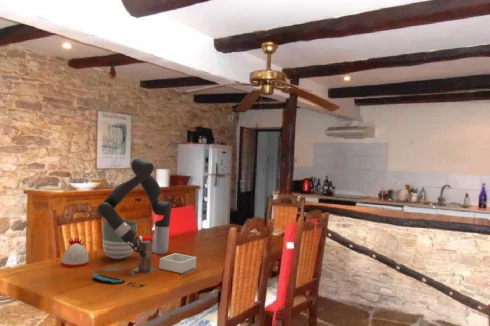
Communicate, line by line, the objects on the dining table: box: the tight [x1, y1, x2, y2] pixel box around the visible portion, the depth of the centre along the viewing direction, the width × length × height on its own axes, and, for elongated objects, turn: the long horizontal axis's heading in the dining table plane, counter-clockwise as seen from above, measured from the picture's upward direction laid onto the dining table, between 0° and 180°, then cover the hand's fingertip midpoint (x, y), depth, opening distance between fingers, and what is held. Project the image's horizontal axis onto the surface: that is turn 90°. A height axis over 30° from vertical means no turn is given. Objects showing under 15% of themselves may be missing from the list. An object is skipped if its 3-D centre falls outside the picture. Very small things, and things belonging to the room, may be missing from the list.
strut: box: [138, 241, 153, 271], centre depth 218 cm, size 4×4×15 cm
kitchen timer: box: [61, 236, 90, 268], centre depth 225 cm, size 14×14×15 cm
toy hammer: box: [137, 234, 154, 243], centre depth 275 cm, size 23×12×6 cm, turn 28°
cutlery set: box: [92, 267, 146, 289], centre depth 204 cm, size 20×30×2 cm, turn 69°
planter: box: [102, 219, 138, 260], centre depth 242 cm, size 20×20×21 cm
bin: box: [158, 252, 197, 277], centre depth 226 cm, size 15×15×7 cm
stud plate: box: [131, 267, 158, 275], centre depth 218 cm, size 10×10×5 cm
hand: (146, 254), depth 218 cm, fingers open, 8 cm apart
